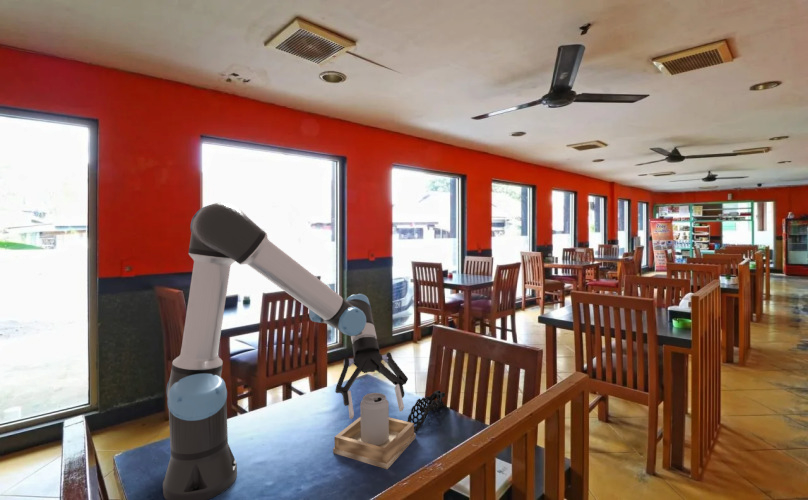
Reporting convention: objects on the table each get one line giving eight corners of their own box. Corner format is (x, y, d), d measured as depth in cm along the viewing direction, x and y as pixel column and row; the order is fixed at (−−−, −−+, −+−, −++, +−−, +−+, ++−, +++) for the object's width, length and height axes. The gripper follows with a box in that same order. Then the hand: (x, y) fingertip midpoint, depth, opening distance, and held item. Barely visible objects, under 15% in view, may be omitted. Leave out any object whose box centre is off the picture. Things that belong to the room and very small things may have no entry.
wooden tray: (333, 452, 104) (332, 437, 104) (366, 425, 118) (365, 411, 118) (387, 469, 97) (387, 452, 96) (415, 437, 111) (415, 423, 111)
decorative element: (419, 435, 113) (419, 415, 112) (403, 431, 115) (403, 411, 114) (447, 404, 133) (447, 386, 132) (433, 400, 135) (433, 383, 135)
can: (382, 450, 103) (382, 404, 102) (355, 445, 105) (355, 400, 104) (392, 436, 110) (392, 393, 109) (367, 431, 112) (367, 389, 111)
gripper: (401, 344, 127) (418, 411, 113) (321, 352, 119) (328, 425, 106) (407, 331, 121) (424, 401, 108) (323, 339, 113) (331, 414, 100)
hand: (377, 413), depth 107 cm, fingers open, 13 cm apart
